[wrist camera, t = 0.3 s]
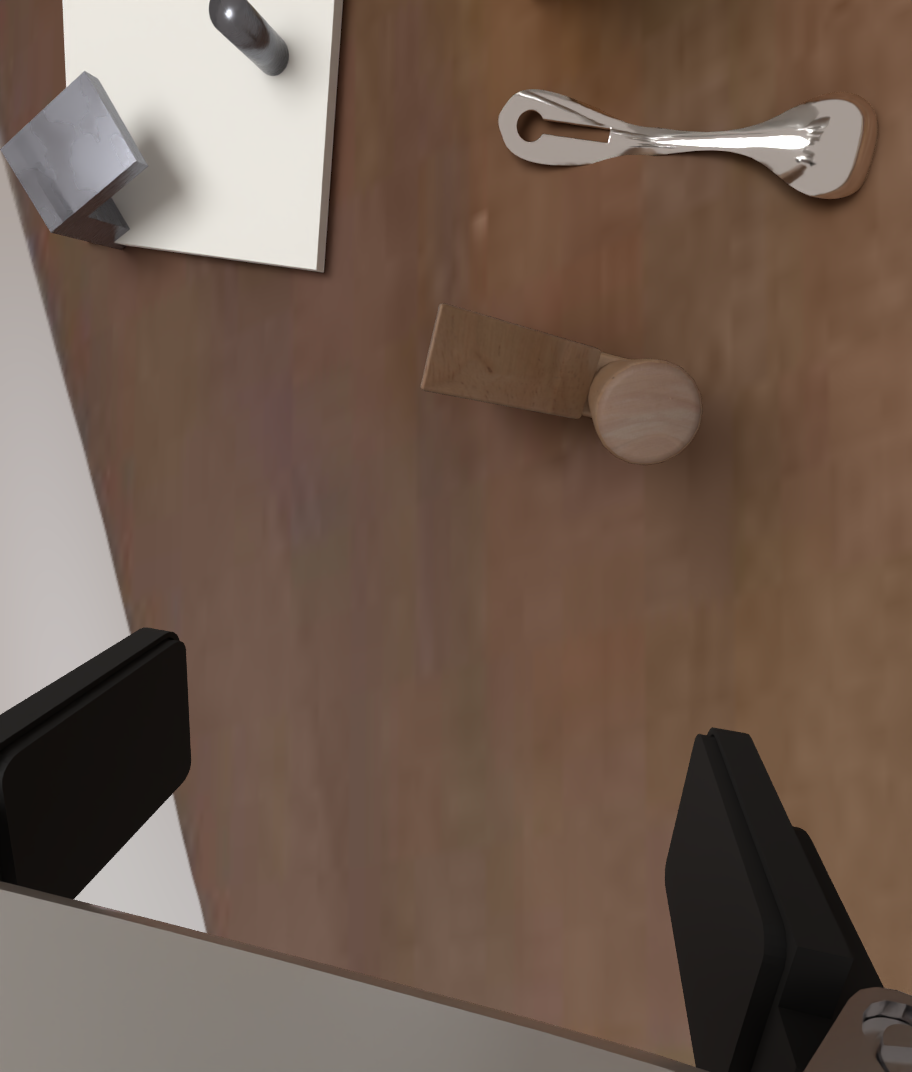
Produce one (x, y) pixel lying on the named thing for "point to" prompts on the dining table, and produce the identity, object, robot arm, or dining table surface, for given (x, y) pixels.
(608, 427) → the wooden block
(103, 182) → the block
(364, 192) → the dining table surface
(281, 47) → the pin
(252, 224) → the board
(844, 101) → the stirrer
